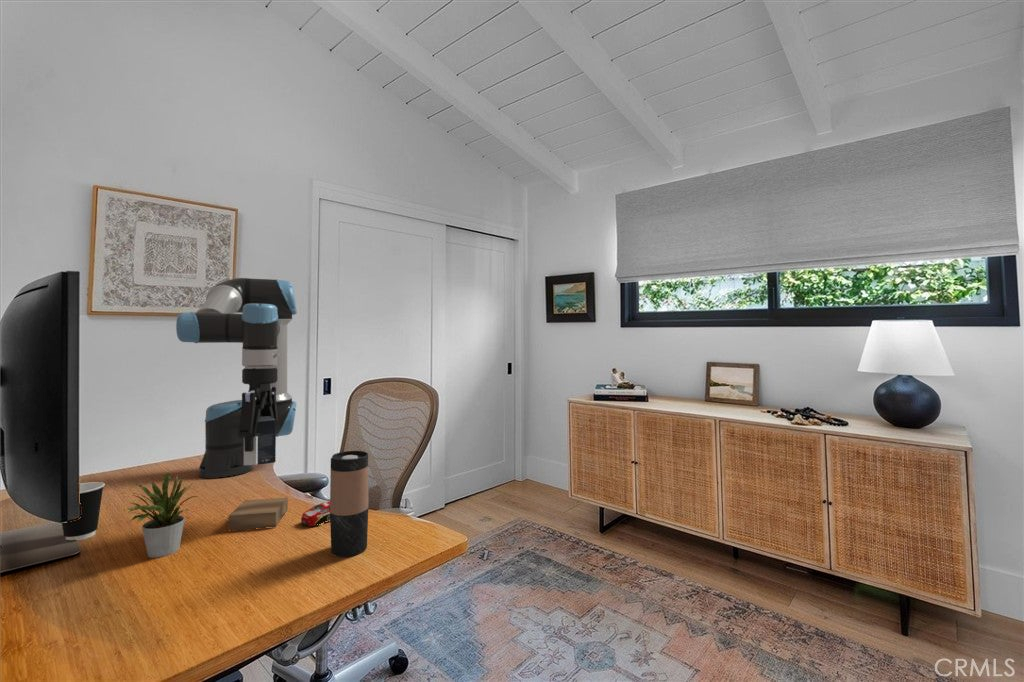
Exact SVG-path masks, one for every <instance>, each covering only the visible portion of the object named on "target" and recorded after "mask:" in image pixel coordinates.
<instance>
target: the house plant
mask: <svg viewBox="0 0 1024 682" xmlns="http://www.w3.org/2000/svg"><path fill="white" fill-rule="evenodd" d="M173 476H174V473H171V474H170V475H169V472H168V471H166V472H165V474H164V476H163V480H162V487H161V489H160V488H159V487H158V485H157V484H156V483H155V482H154V481H152V482H151V486H152V487H151V488H152V491H153V492H151V491H150V490H149V489H148V488H147V487H145V486H143V485H142V484H139V483H137V482H136V483H135V482H131V484H133V485H136V486H137V487H139V488H141V490H142V491H143V492H144V494H146V496H147V497H146V496H144V495H142V494H139V493H135V492H133V494H136V495H135V497H136V498H139V499H140V500H141V501H143V502H144V503H145V504H144V505H141V504H139V503H136V502H135V503H134V502H130V504H132V505H134V506H131V507H128V508H126V509H124V510H128V512H127V515H129V514H131V512H132V511H136V510H141V512H143V513H144V514H143V513H141V512H138V514H136V515H135V516H133V517H132V518H131V519H130V521H129V522H130V523H131V522H132V521H134V520H136V519H138V520H137V523H136V524H138V523H140V522H141V521H143V520H144V519H146V518H148V519H149V521H147V522H145V523H144V524H142V526H141V529H142V535H143V538H144V543H145V548H146V552H147V556H148V557H149V558H152V559H153V558H154V559H157V558H163V557H167V556H170V555H172V554H175V553H176V552H178V551H179V550H180V545H181V540H182V535H183V531H184V525H185V521H186V518H185V516H183V515H180V514H182V513H183V512H185V511H186V512H187V513H189V508H187V509H184V510H180V509H181V505H183V503H186V501H188V500H189V499H192V498H195V497H199V496H198V495H193V496H192V495H191V496H190V497H187V498H186V499H184V500H183V501H181V503H180V504H179V505H178V503H179V500H181V498H182V496H183V495H184V494H185V493H186V491H187V490H189V488H190V487H191V486H192V485H193V484H194V482H192V483H190V485H189V486H186V487H184V488H183V489H182V490H181V487H182V482H183V477H181V478H180V480H179V479H178V478H179V476H178V475H176V477H175V480H174V482H173V485H172V486H173V487H172V489H171V492H170V495H169V492H168V491H169V483H170V480H171V479H172V477H173ZM178 481H179V482H178ZM124 483H125V484H126V483H127V484H130V482H125V481H124ZM123 494H124V495H125V494H126V492H122V493H119V495H123ZM138 495H139V496H138ZM126 497H128V495H127V496H125V498H126ZM142 497H144V498H145V499H146V500H148V501H150V502H151V503H152V504H149V503H148V502H147V501H146V500H145V499H144V498H142ZM148 497H149V498H148ZM148 511H149V512H148ZM157 512H158V513H157ZM135 513H136V512H133V514H135Z"/></svg>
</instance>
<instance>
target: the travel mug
mask: <svg viewBox="0 0 1024 682" xmlns="http://www.w3.org/2000/svg"><path fill="white" fill-rule="evenodd" d="M329 483H330V484H329V485H330V486H329V488H330V490H329V492H330V493H329V494H330V495H329V498H330V499H329V502H330V521H329V522H330V548H331V550H330V552H331V554H332V555H333V556H335V557H338V558H350V557H351V558H352V557H355V556H358V555H360V554H362V553H364V552H365V551H366V549H367V548H368V534H369V532H368V529H369V526H368V525H369V454H368V452H366V451H362V450H346V451H340V452H337V453H334V454H333V455H332V456H331V458H330V481H329Z"/></svg>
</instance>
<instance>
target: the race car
mask: <svg viewBox="0 0 1024 682" xmlns="http://www.w3.org/2000/svg"><path fill="white" fill-rule="evenodd" d="M329 520H330V501H324V502H322V503H319V504H316V505H314V506H312V507H310V508H309V509H307V510H305V511H304V512H303V513H302V515H301V518H300V521H301V522H300V523H301V524H302V525H306V526H307V527H317V526H318V525H319V524H321V523H323V522H325V521H329ZM329 522H330V521H329ZM317 524H318V525H317ZM316 525H317V526H316Z"/></svg>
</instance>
